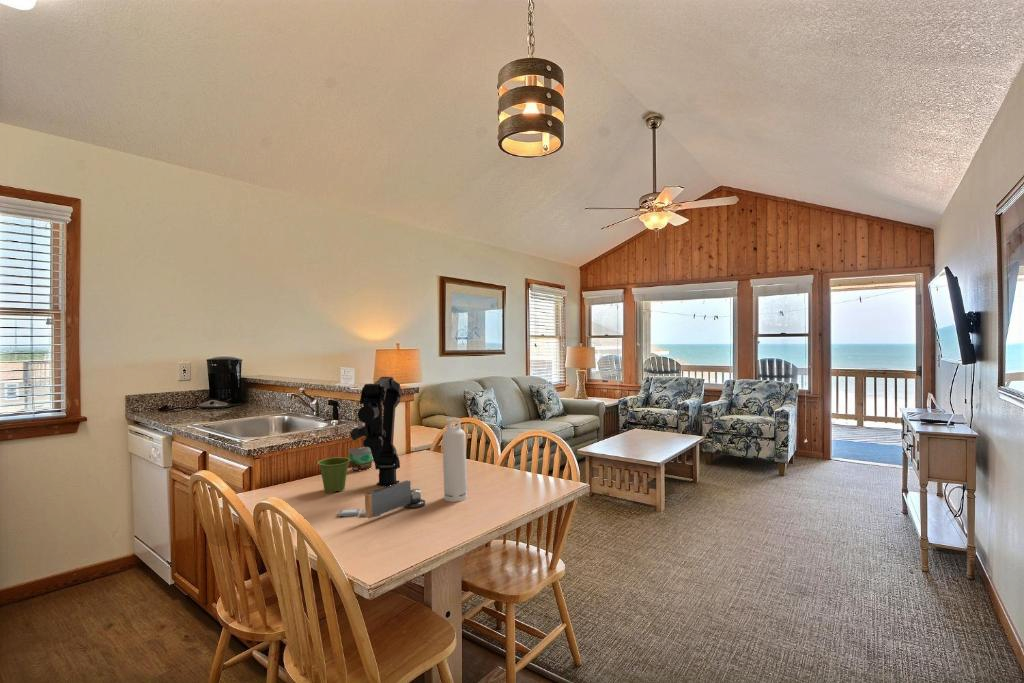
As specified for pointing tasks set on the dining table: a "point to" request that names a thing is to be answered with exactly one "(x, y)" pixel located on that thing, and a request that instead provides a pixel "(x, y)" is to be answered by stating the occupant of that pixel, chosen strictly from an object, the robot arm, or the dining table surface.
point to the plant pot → (334, 473)
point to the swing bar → (390, 498)
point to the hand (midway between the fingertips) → (375, 461)
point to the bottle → (454, 462)
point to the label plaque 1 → (349, 512)
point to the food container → (360, 458)
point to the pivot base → (416, 504)
